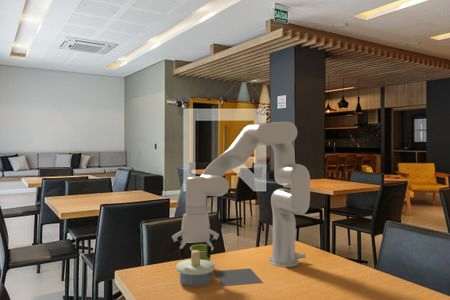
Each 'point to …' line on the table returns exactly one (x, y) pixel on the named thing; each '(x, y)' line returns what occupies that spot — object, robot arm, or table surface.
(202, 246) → the plant pot
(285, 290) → the table surface
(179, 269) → the lid
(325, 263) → the table surface
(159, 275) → the table surface
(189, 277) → the bowl
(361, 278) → the table surface
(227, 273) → the mat
